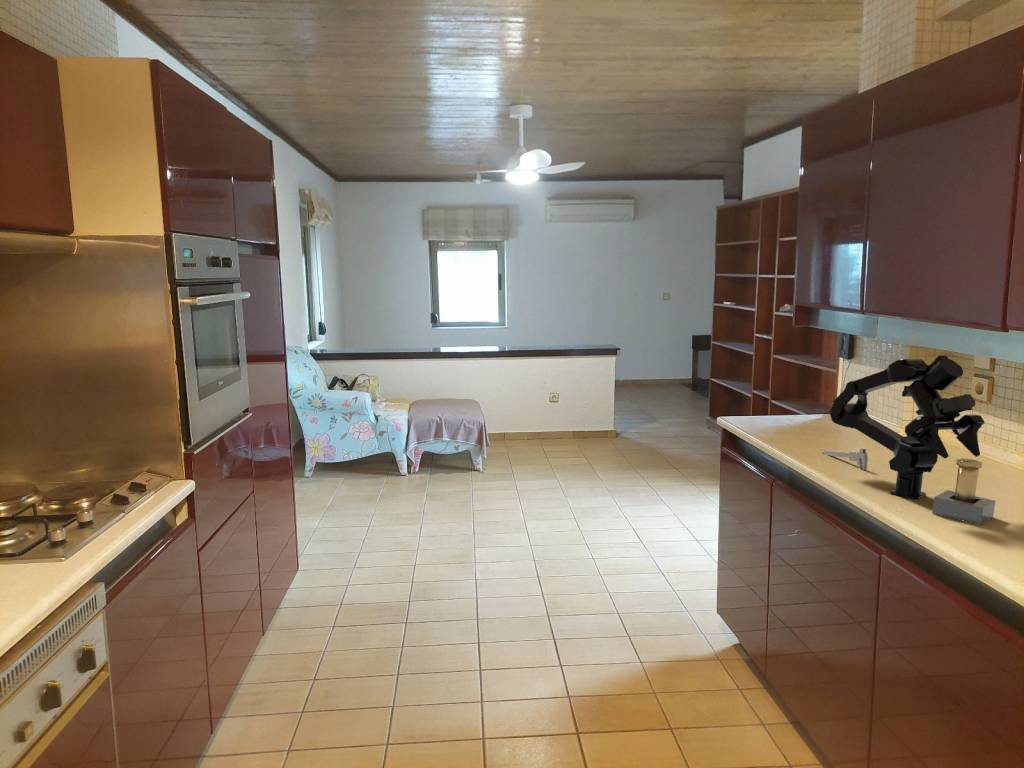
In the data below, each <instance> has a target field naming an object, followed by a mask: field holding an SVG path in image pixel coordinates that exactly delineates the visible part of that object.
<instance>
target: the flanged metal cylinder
mask: <svg viewBox="0 0 1024 768" xmlns="http://www.w3.org/2000/svg"><path fill="white" fill-rule="evenodd" d="M956 465H957V466H958V468H957V475H956V483H955V484H956V485H955V489H954V490H955V491H954V492H955V497H954V499H955V500H959V501H963V502H968V503H972V504H974V502H975V496H976V493H977V485H978V478H979V471H980V470H979V469H982V468H983V462H982V461H980V460H977V459H971V458H957V459H956Z"/></svg>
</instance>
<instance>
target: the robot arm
mask: <svg viewBox="0 0 1024 768" xmlns="http://www.w3.org/2000/svg"><path fill="white" fill-rule="evenodd" d="M963 375H964V369H963V367H962V366H961V365H960V364H958V363H957V361H954V360H953V359H951V358H949V357H948V356H947V354H943V355H942V354H941V355H940V354H939V355H938V356H937V357H936V358H935V359H934V360H933V362H932V363H930V364H927V363H926V362H925V361H924V360H923V359H922V358H899V359H897V360H895V361H893V362H892V363H890V364H889V365H887V367H886V368H885V369H883V370H881V371H879V372H875V373H872V374H869V375H867V376H865V377H861V378H859V379H855V380H850V381H848V382H847V383H846V385H845V387H844V390H843V391H841V393H840V394H839V395H838V396H837V397H836V398H835V399H834V402H833V404H832V406H831V408H830V410H829V411H830V412H829V417H830V420H831V421H832V422H833V423H834V424H836V425H838V426H841V427H844V428H850V429H855V430H857V431H858V432H859V433H862V434H863V435H865V436H867V437H868V438H870V439H872V440H873V441H875V442H877V443H878V444H879V445H882V446H883V447H885V449H886V448H887V450H889V451H891V452H892V453H893V455H894V456H893V457H892V458H891V459H890V460H889V461H888V464H889V469H890V470H891V471H895V472H896V480H895V481H896V483H895V488H894V489H892V490H889V494H893V495H897V496H901V497H905V498H908V499H909V498H910V499H914V500H918V499H920V498H922V497H925V496H926V495H927V494H926V492H923V491H922V488H923V479H924V478H923V477H924V473H932V471H933V469H934V467H935V465H936V463H937V462H938V456H940V457H941V458H943V459H947V458H949V456H950V455H949V454H948V451H947V448H946V447H945V444H944V443H943V441H942V438H941V437H940V435H939V431H942V430H943V431H948V430H951V431H952V432H953V434H954V435H956V437H955V438H956V439H957V440H958V441H959V442H960V443H961V444H962V446H963V447H965V448H966V449H967V450H968V452H970V453H971V454H972V455H973V456H974V457H975V458H977V457H979V456H980V455H981V452H980V446H979V441H978V432H979V430H980V429H981V428H982V427H983V425H985V422H986V421H985V420H984V418H983V417H982V416H981V415H979V414H964V415H963V416H962V417H960V416H961V413H962V412H967V411H973V408H974V407H975V406H976V400H975V398H974V396H972V395H971V394H970V393H966V394H965V393H964V394H963V395H959V396H953V397H950V398H948V397H943V396H942V395H941V394H940V392H939V391H945V390H947V389H948V388H950V386H952V385H953V384H954V383H955V382H956V381H957V380H958V379H960V378H961V377H962V376H963ZM902 383H910V384H909V385H904V386H903V391H902V393H901V396H902V398H903V397H904V398H905V397H906V398H907V397H910V398H912V400H913V402H914V404H915V405H916V407H917V408H918V409H917V410H916V411H915V413H916V414H917V416H916V417H915V418H913V420H911V421H910V422H909V423H907V425H905V426H904V433H905V435H906V436H903V435H902V434H900V433H898V432H896V431H894V430H893V429H891V428H889V427H888V426H886V425H884V424H883V423H881V422H879V421H877V420H875V419H874V418H872V417H870V415H869V413H868V411H867V408H868V397H867V396H868V395H869V393H871V392H874V391H877V390H881V389H884V388H886V387H889V386H893V385H896V384H902ZM855 396H857V401H856V402H855V403H850V401H852V399H854V397H855ZM958 417H960V418H959V419H958V420H956V418H958Z"/></svg>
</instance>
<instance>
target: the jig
mask: <svg viewBox="0 0 1024 768" xmlns="http://www.w3.org/2000/svg"><path fill="white" fill-rule="evenodd" d="M954 497H955V491H953V490H949V489H947V490H945V491H943V492H940V493H939V494H937V495H936V496H934V497H933V503H932V504H933V505H932V513H934V514H933V515H936V514H938V515H937V516H940V515H942V516H941V517H944V516H946V517H945V518H949V517H950V518H949V519H953V518H955V519H954V520H957V519H959V520H958V521H961V520H964V521H963V522H965V521H967V522H966V523H969V522H971V523H970V524H973V523H975V524H974V525H977V524H979V525H978V526H982V525H984V524H985V523H986V521H987V520H988V521H990V520H991V519H992V517H993V518H994V514H995V507H996V500H994V499H991V498H990V499H989V498H985V497H982V496H981V497H980V496H976V495H975V502H974V504H972V503H968V502H963V501H959V500H955V499H954ZM932 513H931V514H932ZM990 518H991V519H990ZM989 519H990V520H989ZM988 521H987V522H988ZM984 522H985V523H984ZM983 523H984V524H983Z"/></svg>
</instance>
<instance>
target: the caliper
mask: <svg viewBox="0 0 1024 768" xmlns="http://www.w3.org/2000/svg"><path fill="white" fill-rule="evenodd" d="M866 450H867V449H866V448H859V451H848V452H847V451H838V450H829V449H827V450H823V451H821V454H824V455H825V456H831V457H839V458H848V461H850V462H851V461H852V462H856V464H857V465H856V466H857V468H862V469H861V470H862V471H867V470H868V461H869V459H868V453H867V451H866Z"/></svg>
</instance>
